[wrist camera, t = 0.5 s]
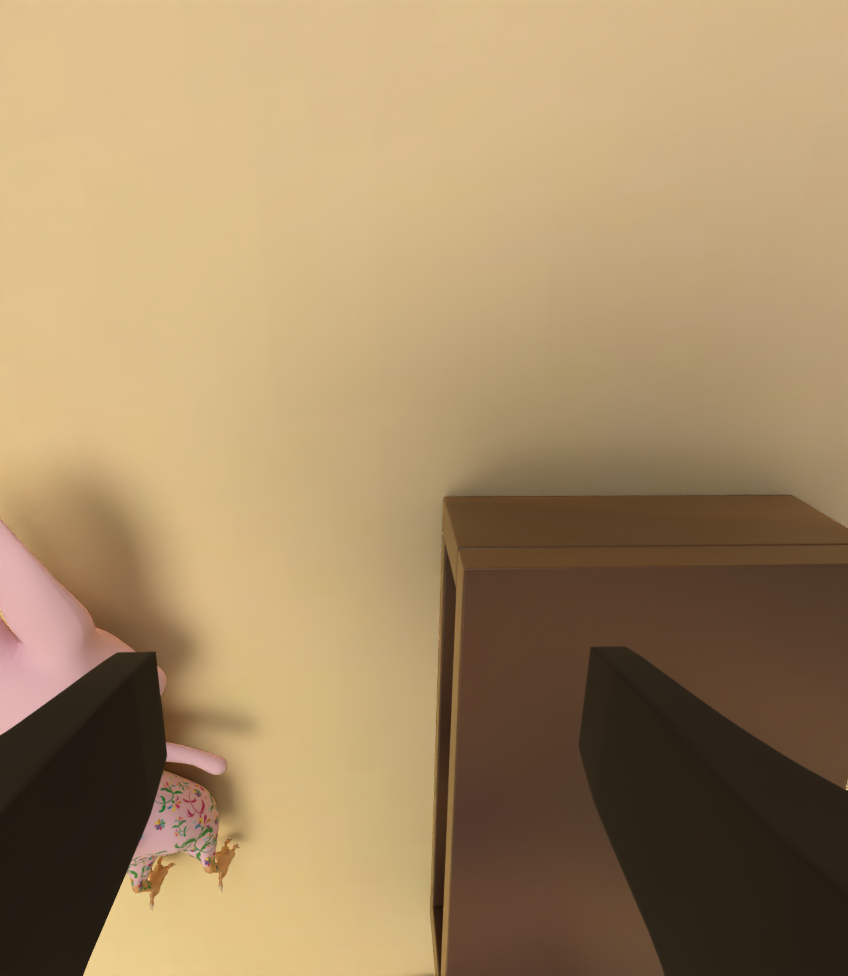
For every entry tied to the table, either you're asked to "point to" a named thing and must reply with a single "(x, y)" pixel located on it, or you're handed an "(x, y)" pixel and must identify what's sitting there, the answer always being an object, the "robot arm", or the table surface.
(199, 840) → the rabbit figure
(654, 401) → the table surface
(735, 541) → the wooden cubby shelf
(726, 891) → the robot arm
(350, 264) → the table surface
